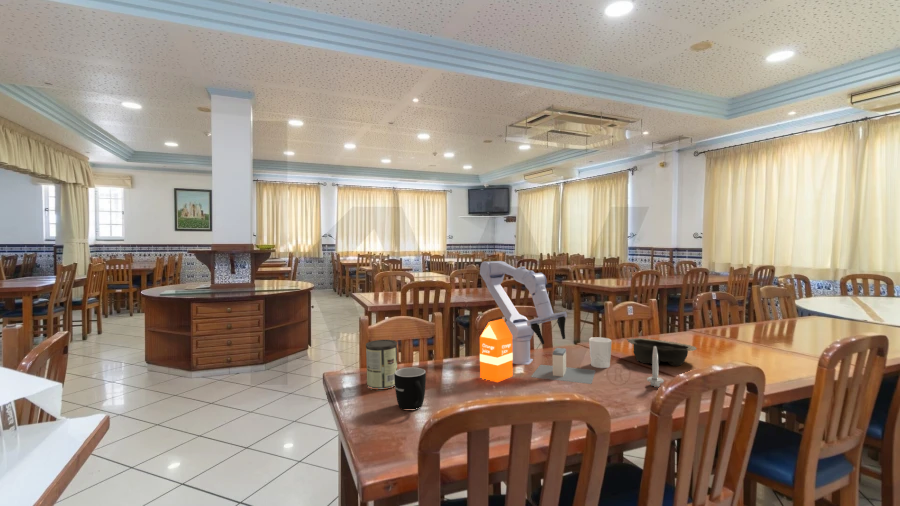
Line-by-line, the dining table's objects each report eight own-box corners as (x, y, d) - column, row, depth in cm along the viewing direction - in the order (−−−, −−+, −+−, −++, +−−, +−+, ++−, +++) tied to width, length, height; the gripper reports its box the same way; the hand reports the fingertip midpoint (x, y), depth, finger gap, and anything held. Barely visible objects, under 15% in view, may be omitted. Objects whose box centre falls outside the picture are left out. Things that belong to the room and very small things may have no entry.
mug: (390, 404, 127) (389, 370, 126) (418, 398, 131) (418, 365, 131) (406, 419, 116) (405, 381, 116) (436, 412, 120) (435, 376, 120)
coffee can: (376, 379, 150) (375, 338, 150) (403, 381, 147) (402, 340, 147) (360, 388, 141) (359, 345, 140) (389, 391, 137) (388, 347, 137)
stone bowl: (630, 367, 160) (629, 341, 160) (623, 355, 183) (623, 333, 184) (705, 371, 152) (705, 344, 153) (689, 358, 176) (688, 335, 177)
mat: (530, 377, 149) (530, 377, 149) (540, 365, 164) (540, 364, 164) (591, 384, 141) (591, 383, 141) (595, 371, 156) (595, 370, 156)
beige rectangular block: (552, 375, 151) (552, 352, 151) (556, 369, 157) (556, 347, 157) (563, 376, 149) (562, 353, 149) (566, 370, 156) (566, 348, 156)
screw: (655, 389, 136) (643, 384, 141) (667, 387, 138) (654, 382, 142) (655, 348, 136) (643, 345, 140) (667, 346, 138) (654, 343, 142)
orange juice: (479, 378, 150) (479, 320, 149) (495, 372, 156) (494, 317, 155) (498, 383, 144) (497, 323, 144) (513, 377, 151) (512, 319, 150)
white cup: (608, 363, 166) (608, 337, 165) (614, 369, 158) (614, 342, 158) (587, 363, 166) (587, 337, 166) (591, 369, 159) (591, 341, 158)
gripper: (524, 307, 155) (535, 345, 151) (563, 297, 155) (575, 335, 150) (522, 310, 161) (533, 346, 157) (560, 301, 161) (571, 337, 157)
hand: (553, 341), depth 154 cm, fingers open, 7 cm apart
